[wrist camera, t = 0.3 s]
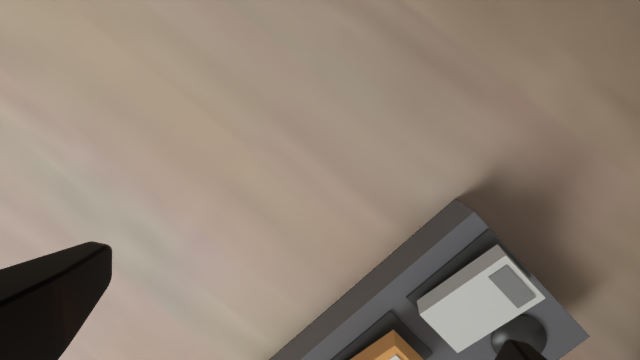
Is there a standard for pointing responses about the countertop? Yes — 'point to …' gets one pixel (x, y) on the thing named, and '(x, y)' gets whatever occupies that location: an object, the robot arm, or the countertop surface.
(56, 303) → the robot arm
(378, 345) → the block
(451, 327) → the rocker
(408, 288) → the power strip
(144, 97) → the countertop surface
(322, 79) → the countertop surface
